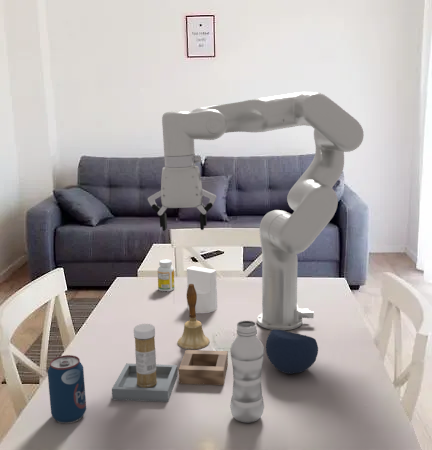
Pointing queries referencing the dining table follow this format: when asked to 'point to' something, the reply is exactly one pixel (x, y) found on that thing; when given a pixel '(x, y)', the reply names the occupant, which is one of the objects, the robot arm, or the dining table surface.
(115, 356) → the dining table surface
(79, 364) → the soda can
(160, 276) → the supplement bottle
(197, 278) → the white upright carton
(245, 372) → the plastic bottle
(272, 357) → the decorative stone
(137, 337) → the sprinkles bottle
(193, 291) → the hand bell
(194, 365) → the holder block
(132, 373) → the tray
